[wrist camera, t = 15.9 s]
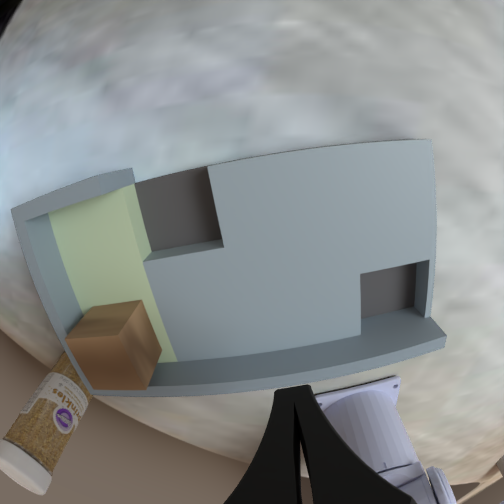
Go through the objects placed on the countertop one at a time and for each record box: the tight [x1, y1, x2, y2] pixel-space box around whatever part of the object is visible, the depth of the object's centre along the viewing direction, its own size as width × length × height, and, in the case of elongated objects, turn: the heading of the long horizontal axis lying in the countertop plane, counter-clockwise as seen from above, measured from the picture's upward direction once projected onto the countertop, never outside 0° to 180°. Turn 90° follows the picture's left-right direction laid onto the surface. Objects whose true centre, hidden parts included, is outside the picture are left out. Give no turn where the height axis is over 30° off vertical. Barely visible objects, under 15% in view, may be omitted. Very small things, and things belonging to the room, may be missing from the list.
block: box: [65, 300, 162, 390], centre depth 17 cm, size 4×4×4 cm
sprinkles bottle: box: [0, 352, 93, 495], centre depth 16 cm, size 5×5×14 cm
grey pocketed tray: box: [11, 139, 447, 397], centre depth 17 cm, size 14×25×4 cm, turn 100°
